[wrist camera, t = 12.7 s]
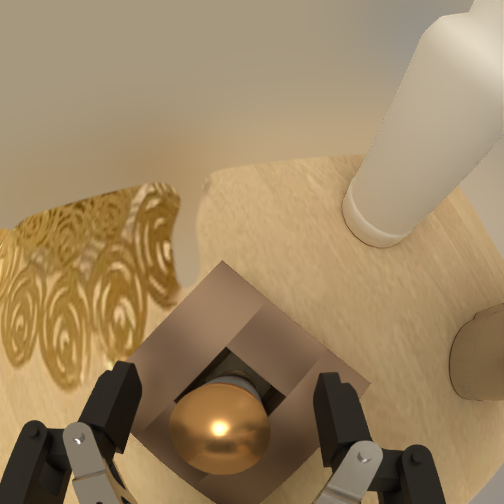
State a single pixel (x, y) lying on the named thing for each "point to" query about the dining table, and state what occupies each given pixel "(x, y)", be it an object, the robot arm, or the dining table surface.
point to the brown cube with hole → (256, 357)
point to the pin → (221, 425)
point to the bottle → (432, 126)
